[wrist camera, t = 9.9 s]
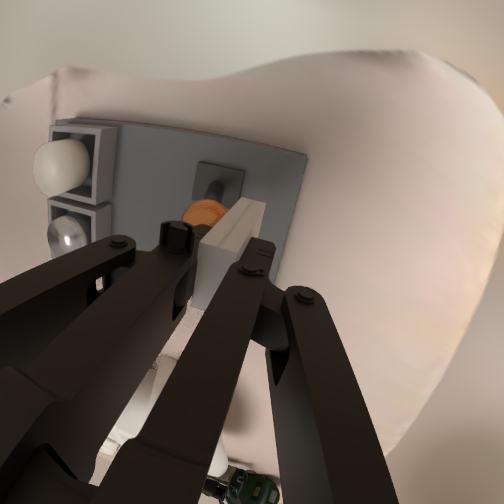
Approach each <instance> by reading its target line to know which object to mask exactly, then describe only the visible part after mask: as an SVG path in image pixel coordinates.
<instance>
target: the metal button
mask: <svg viewBox="0 0 504 504" xmlns="http://www.w3.org/2000/svg"><path fill="white" fill-rule="evenodd" d="M47 237H48V242H49V245H50V248H51V250H52V252H53V253H54V255H55V256H56V257H59V256H62V255H64V254H66V253H69V252H71V251H73V250H76V249H78V248H81V247H83V246H85V245H88V244H90V243H92V235H91V216H89V215H85V214H82V213H78V212H74V211H71V212H69V213H67V214H65V215H63V216H61V217H59V218H57V219H55V220H53V221H52V222H51V223H50V225H49V227H48V232H47Z"/></svg>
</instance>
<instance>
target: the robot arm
mask: <svg viewBox="0 0 504 504" xmlns="http://www.w3.org/2000/svg"><path fill="white" fill-rule="evenodd" d="M265 206H266V203H263V202H259V201H256V200H252V199H248V198H244V197H241V198H240V200H239V201H238V202H237V203H236V204H235V205H234V206H233V207H232V208H231V209H230V210H229V211H228V212H227V213H226V214H225V215H224V216H223V217H222V218H221V219H220V220H219V221H218V223H217V224H216V225H215V226H214V227H212V226H208V225H204V224H199V225H196V226H193V225H192V224H190V223H187V222H183V221H176V220H170V221H165V222H162V223H161V226H160V237H159V245H158V246H156V247H155V248H154V249H153V250H152V251H141V250H136V241H135V240H134V239H133V238H131V237H128V236H126V235H120V234H118V235H112V236H108V237H105V238H103V239H100V240H98V241H95V242H93V243H90V244H88V245H85V246H83V247H81V248H78V249H76V250H73V251H71V252H69V253H66V254H64V255H62V256H59V257H57V258H55V259H53V260H50V261H48V262H46V263H43V264H41V265H39V266H37V267H35V268H32V269H30V270H28V271H26V272H24V273H22V274H19V275H17V276H15V277H13V278H11V279H9V280H7V281H5V282H3V283H1V284H0V504H198V501H199V498H200V495H201V493H202V490H203V487H204V484H205V481H206V478H207V475H208V472H209V469H210V466H211V463H212V460H213V457H214V453H215V450H216V447H217V444H218V441H219V438H220V435H221V432H222V429H223V426H224V422H225V419H226V416H227V413H228V410H229V407H230V403H231V400H232V397H233V394H234V390H235V387H236V384H237V381H238V377H239V374H240V371H241V368H242V364H243V361H244V358H245V354H246V351H247V348H248V345H249V341H250V339H251V340H253V341H255V342H257V343H258V344H260V345H262V346H264V347H266V351H265V356H266V365H267V373H268V381H269V389H270V398H271V406H272V414H273V422H274V431H275V439H276V447H277V455H278V464H279V472H280V480H281V489H282V497H283V504H399V502H398V499H397V496H396V492H395V489H394V486H393V482H392V480H391V476H390V473H389V470H388V467H387V465H386V461H385V458H384V455H383V452H382V449H381V446H380V443H379V440H378V437H377V434H376V432H375V429H374V426H373V423H372V420H371V418H370V415H369V412H368V409H367V407H366V404H365V401H364V398H363V396H362V393H361V390H360V388H359V385H358V382H357V380H356V377H355V375H354V372H353V369H352V367H351V364H350V362H349V359H348V357H347V354H346V352H345V349H344V347H343V344H342V342H341V339H340V337H339V334H338V332H337V329H336V327H335V324H334V322H333V320H332V317H331V315H330V312H329V310H328V308H327V305H326V303H325V301H324V299H323V297H322V296H321V295H320V294H319V293H318V292H316V291H315V290H313V289H311V288H309V287H304V286H291V287H288V288H287V289H286V291H283V290H281V289H279V288H277V287H276V286H275V285H273V284H272V282H271V281H270V279H269V273H270V270H271V266H272V263H273V259H274V255H275V252H276V247H275V245H274V243H273V242H270V241H266V240H263V239H259V238H258V235H259V231H260V226H261V222H262V218H263V214H264V210H265ZM100 277H102V283H103V288H102V289H101V290H97V289H96V279H98V278H100ZM191 296H192V299H191V306H192V307H195V308H198V309H201V310H204V311H205V312H204V314H203V316H202V317H201V319H200V321H199V323H198V325H197V327H196V328H195V330H194V332H193V334H192V336H191V337H190V339H189V341H188V343H187V345H186V347H185V348H184V350H183V352H182V354H181V356H180V358H179V359H178V361H177V363H176V365H175V367H174V369H173V371H172V372H171V374H170V376H169V378H168V380H167V382H166V383H165V385H164V387H163V389H162V391H161V393H160V395H159V396H158V398H157V400H156V402H155V404H154V406H153V408H152V410H151V411H150V413H149V415H148V417H147V419H146V421H145V423H144V425H143V426H142V428H141V430H140V432H139V433H138V435H137V436H136V437H134V438H130V439H128V440H127V441H126V442H125V443H124V444H123V445H122V446H121V448H120V449H119V451H118V452H117V454H116V456H115V458H114V460H113V461H112V463H111V465H110V467H109V469H108V471H107V473H106V474H105V476H104V478H103V480H102V482H101V483H100V485H99V487H98V486H95V485H92V484H88V483H89V481H90V479H91V477H92V475H93V473H94V469H95V462H96V457H97V454H98V452H99V450H100V448H101V446H102V445H103V443H104V442H105V440H106V438H107V437H108V435H109V433H110V432H111V430H112V428H113V427H114V425H115V423H116V422H117V420H118V419H119V417H120V415H121V414H122V412H123V411H124V409H125V407H126V406H127V404H128V402H129V401H130V399H131V398H132V396H133V394H134V393H135V391H136V390H137V388H138V386H139V385H140V383H141V382H142V380H143V378H144V377H145V375H146V374H147V372H148V371H149V369H150V367H151V366H152V364H153V363H154V361H155V360H156V358H157V356H158V355H159V353H160V352H161V350H162V349H163V347H164V346H165V344H166V342H167V341H168V339H169V338H170V336H171V335H172V333H173V332H174V330H175V328H176V327H177V325H178V324H179V322H180V321H181V319H182V318H183V316H184V315H185V313H186V309H187V302H188V300H189V299H190V297H191Z"/></svg>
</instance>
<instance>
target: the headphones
mask: <svg viewBox="0 0 504 504" xmlns="http://www.w3.org/2000/svg"><path fill="white" fill-rule="evenodd" d="M247 472H254V471H252V470H247V471H245V470H243V469H239V468H237V467H233V466H230V465H228V468H227V470H226V472H225V473H224V474H223V475H221V476H220V477H215V476H211V475H207V478H206V481H205V484H204V487H203V490H202V493H204V494H205V495H206V496H212V497H214V498H216V499H219V503H220V504H224V503H223V502H222V501H224V499H226V501H227V503H228V504H277V503H278V502H279V499H280V494H279V489H278V488H277V486H276V484H275V483H274V482H273V481H272V479H269V478H264V476H263V475H259V476H256V475H247ZM254 473H256V472H254ZM219 482H220V483H223V484H224V485H222V484H220V483H219ZM225 485H226V486H225ZM218 486H219V487H218ZM227 486H228V487H227Z"/></svg>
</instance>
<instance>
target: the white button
mask: <svg viewBox="0 0 504 504" xmlns="http://www.w3.org/2000/svg"><path fill="white" fill-rule="evenodd" d="M89 170H90V158H89V153H88V151H87V148H86V147H85V145H84V144H83V143H82V142H81V141H80V140H78V139H75V138H69V139H64V140H58V141H53V142H48V143H44V144H43V145H41V146H40V147H39V148H38V150H37V151H36V153H35V156H34V160H33V176H34V180H35V183H36V185H37V187H38V188H39V190H40V191H41V192H42V193H43V194H44V195H46V196H50V197H53V196H56V195H59V194H61V193H64V192H66V191H69V190H71V189H74V188H76V187H79V186H80V185H82V184H83V183H84V182H85V180H86V179H87V177H88V174H89Z"/></svg>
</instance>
